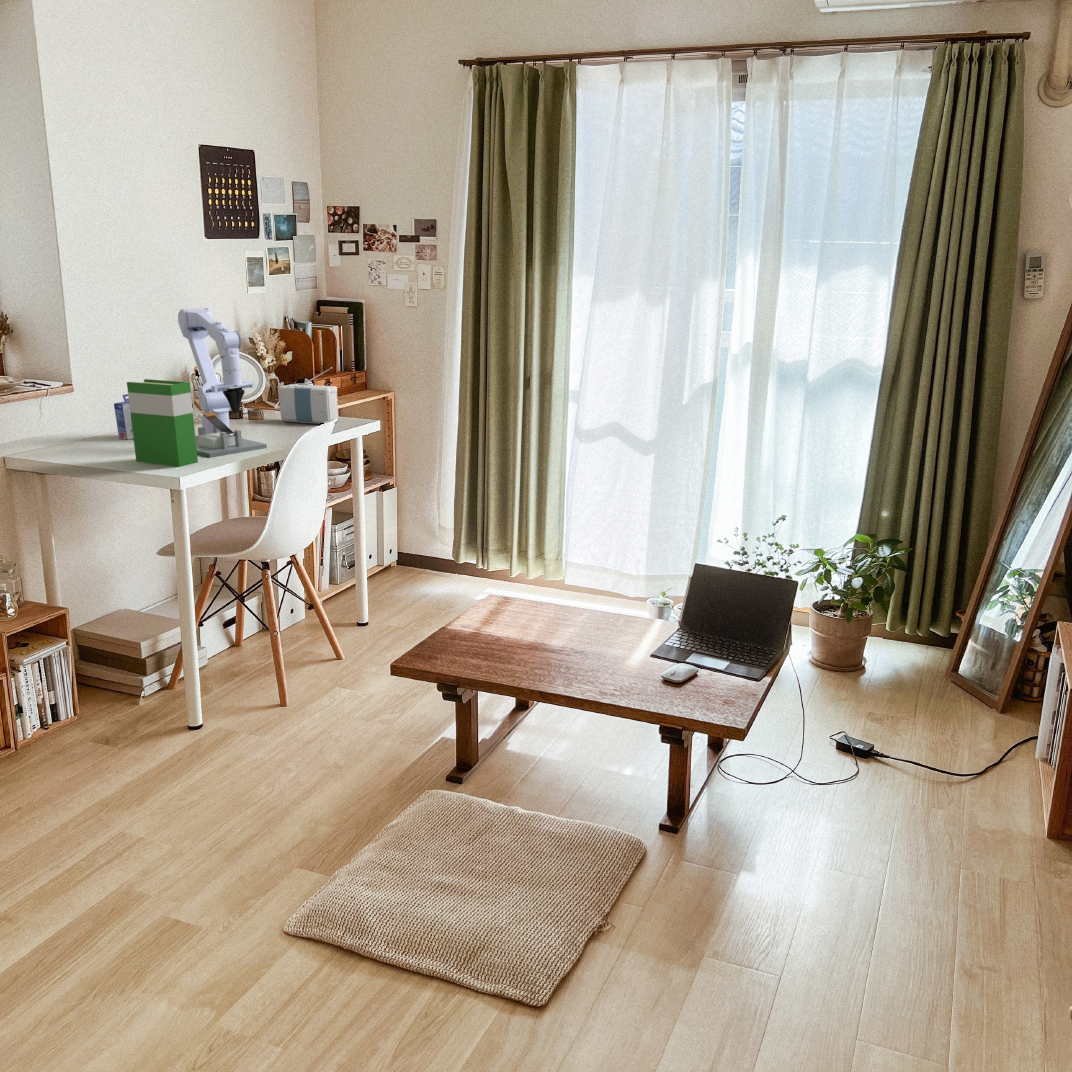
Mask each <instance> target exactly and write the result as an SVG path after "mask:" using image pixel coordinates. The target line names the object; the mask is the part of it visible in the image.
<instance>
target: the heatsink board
mask: <svg viewBox="0 0 1072 1072" xmlns="http://www.w3.org/2000/svg"><path fill="white" fill-rule="evenodd" d="M197 431H198V433H197V434H198V435H197V440H196V448H197V455H199V456H202V457H207V458H215V457H220V456H227V455H232V454H238V453H244V452H250V451H256V450H261V449H267V446H268V445H267V443H264V442H259V441H256V440H255V441H254V440H251V439H245V438H242V437H243V436H242V431H241V429H235V430H233V432H234V433H236V436H233V437H227V433H226V432H221V431H220V430H219V429H217V428H216V427H215V426H214V425H213V433H211V434H206V430H205V428H204V427H202V426H201V427H197Z"/></svg>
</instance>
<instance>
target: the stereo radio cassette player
mask: <svg viewBox="0 0 1072 1072" xmlns="http://www.w3.org/2000/svg"><path fill="white" fill-rule="evenodd" d="M332 369H333V367H332V366H331V367H330V368H329V369H326V370H325V371H323V372H321V373H320V374H317V375H316V376H314V377H312V378H311V379H309V380H307V381H305V382H304V383H301V384H297V383H296V384H295V383H294V384H287V385H283V386H282V385H281V386H279V387H278V396H279V397H278V398H279V400H278V401H279V411H280V418H281V420H282V421H284V422H286V423H288V422H289V423H301V424H302V423H303V424H317V425H321V424H320V423H323V422H325V421H329V420H332V419H335V418H337V419H338V420H339V406H338V405H339V404H338V387H337V386H336V385H335V386H333V385H315V384H314V385H312V384H307V383H310V382H311V381H313V380H314V379H316V378H318V377H320V376H321V375H323V374H324V373H326V372H328V371H329V370H332Z"/></svg>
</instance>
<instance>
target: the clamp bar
mask: <svg viewBox="0 0 1072 1072" xmlns="http://www.w3.org/2000/svg"><path fill="white" fill-rule="evenodd" d="M204 413H205V412H204ZM204 413H203V414H204ZM203 414H202V416H204V417H205V418H207V419H208V420H209V421H210V422H211V423H212V424H213V425H214V426H215V427H216V428H217V429H219V430H220V431H221V432H226V433H227V437H233V436H236V433H234V430H231V428H230V429H229V428H228V427H227V426H226V425H225V424H224V423H223V422H222V421H221V420H219V419H218V418H217V417H216V414H215V413H214V412H209V413H205V414H204V415H203Z"/></svg>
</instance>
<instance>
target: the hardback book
mask: <svg viewBox="0 0 1072 1072" xmlns="http://www.w3.org/2000/svg"><path fill="white" fill-rule="evenodd" d="M126 386H127V394H128V396H127V397H128V398H129V405H130V413H131V422H132V430H133V446H134V452H135V454H134V455H135V461H136V463H141V462H143V463H142V464H150V465H151V464H152V465H160V466H168V467H174V468H175V467H177V468H181V467H185V466H190V465H193V464H196V463H198V462H199V460H198V459H199V457H198V454H197V448H196V441H197V440H196V439H197V438H196V431H195V421H194V420H195V419H194V412H193V411H194V409H193V401H192V392H191V390H192V389H191V383H190V381H175V380H166V379H165V380H162V379H161V380H160V379H149V378H146V379H145V378H144V379H143V382H136V381H127V382H126Z"/></svg>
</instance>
